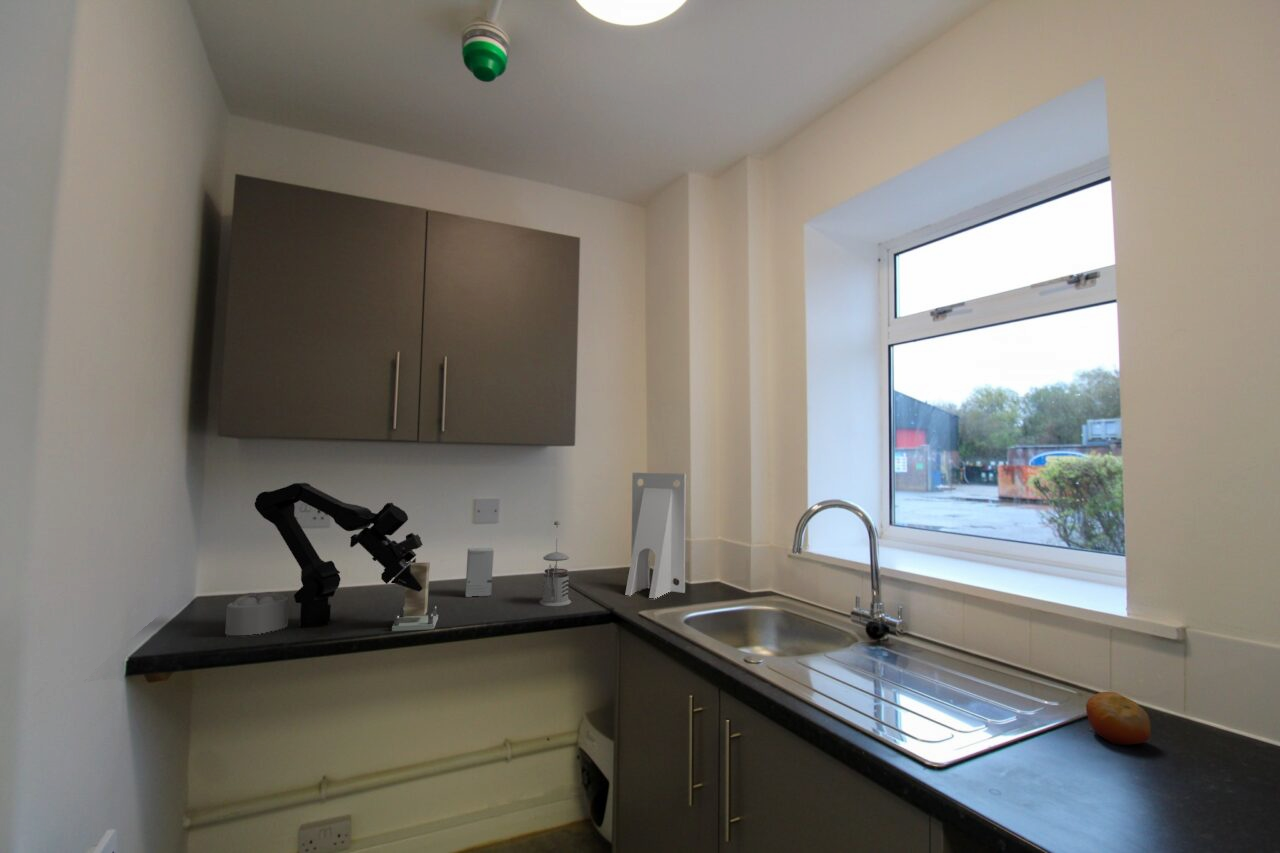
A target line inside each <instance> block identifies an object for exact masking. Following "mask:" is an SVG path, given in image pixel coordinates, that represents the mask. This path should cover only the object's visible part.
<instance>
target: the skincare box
mask: <svg viewBox="0 0 1280 853" xmlns="http://www.w3.org/2000/svg"><path fill="white" fill-rule="evenodd" d="M494 552H495V550H494V548H489V547H488V548H487V547H485V548H484V547H478V548H477V547H470V548H467V557H466V558H467V559H466V575H465V592H464V595H465V598H473V597H472V596H479V597H490V596H489V595H491V596H492V586H493V585H492V584H493V567H494Z"/></svg>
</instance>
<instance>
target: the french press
mask: <svg viewBox="0 0 1280 853" xmlns="http://www.w3.org/2000/svg"><path fill="white" fill-rule="evenodd" d="M553 525H555V526H556V527H558V526H560V525H561V522H560V521H559V520H555V521H554V524H553ZM555 542H556V543H555V544H556V545H555V546H556V548H555V551H553V552H550V553H548V554H547V553H546V554H545V555H544V556H543V560H545V561H549V562H555V564H554V567H552V564H551V563H550V564H549V566H548V568H546V569H545V570H544V573H545V574H543V578H542V579H543V581H542V584H543V585H542V588H543V589H542V599H540V600H539V604H540V605H542V606H549V607H561V606H567V605H570V604H571V603H572V601H571V599H569V580H570V579H569V577H570V576H569V574H568V573H567V572H568V569H566V568H558V567H557V566H558V563H557V562H559V561H560V562H562V561H566V560H567V561H568V560H569V559H570V556H569V555H568V554H566V553H562V552H559V551H558V539H556V540H555Z"/></svg>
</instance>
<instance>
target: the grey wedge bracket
mask: <svg viewBox="0 0 1280 853" xmlns="http://www.w3.org/2000/svg"><path fill="white" fill-rule="evenodd" d="M640 479H641V480H642V485H640V484H639V480H640ZM676 480H677V481H679V486H676V485H675V482H676ZM686 480H687V474H686V473H671V472H670V473H668V472H632V486H631V487H632V489H631V490H632V492H631V493H632V495H631V497H632V498H631V555H630V557H631V559H630V560H631V561H630V566H629V572H628V577H627V581H626V582H627V583H626V588H625V593H624V594H625V595H629V596H628V597H632V596H631V595H633V594H636V593H638V592H641V591H643V590H645V589H647V588H648V589H650V590H649V595H648V599H649V598H654V599H653V600H656V599H658V598H660V596H661V597H662V595H663V596H665V595H667V594H669V593H670V592H672V593H673V592H674V593H681V594H682V593H683V594H685V593H686V512H687V510H686V509H687V508H686V503H687V496H686V495H687V493H686V490H687V488H686V487H687V485H686V484H687V483H686V482H687V481H686ZM651 550H652V552H653V553H654V558H655V560H654V564H653V565H654V566H653V570H652V571H653V572H652V576H651V582H650V573H651V572H650V568H651V566H650V565H651V564H650V559H651V558H650V556H651V555H650V554H651ZM674 579H677V580H678V582H679V583H678V584H675V583H674V581H675V580H674ZM642 589H643V590H642ZM637 591H638V592H637ZM635 592H636V593H635ZM668 592H669V593H668ZM666 593H667V594H666ZM664 594H665V595H664ZM625 595H624V596H625ZM657 597H658V598H657ZM655 598H656V599H655Z"/></svg>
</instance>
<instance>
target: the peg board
mask: <svg viewBox="0 0 1280 853" xmlns="http://www.w3.org/2000/svg"><path fill="white" fill-rule="evenodd" d="M431 608H432V609H431V612H429V613H428V614H425V616H406V617H404V606H400V607H399V614H394V616H393V618H394V620H393V625H392V626H391V632H402V631H418V630H419V631H421V630H434V629H435V627H436V624H437V622H438V620H439V614H437V613H438V610H437V609H438V606H437V605H434V604H433V605H432V606H431Z"/></svg>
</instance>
